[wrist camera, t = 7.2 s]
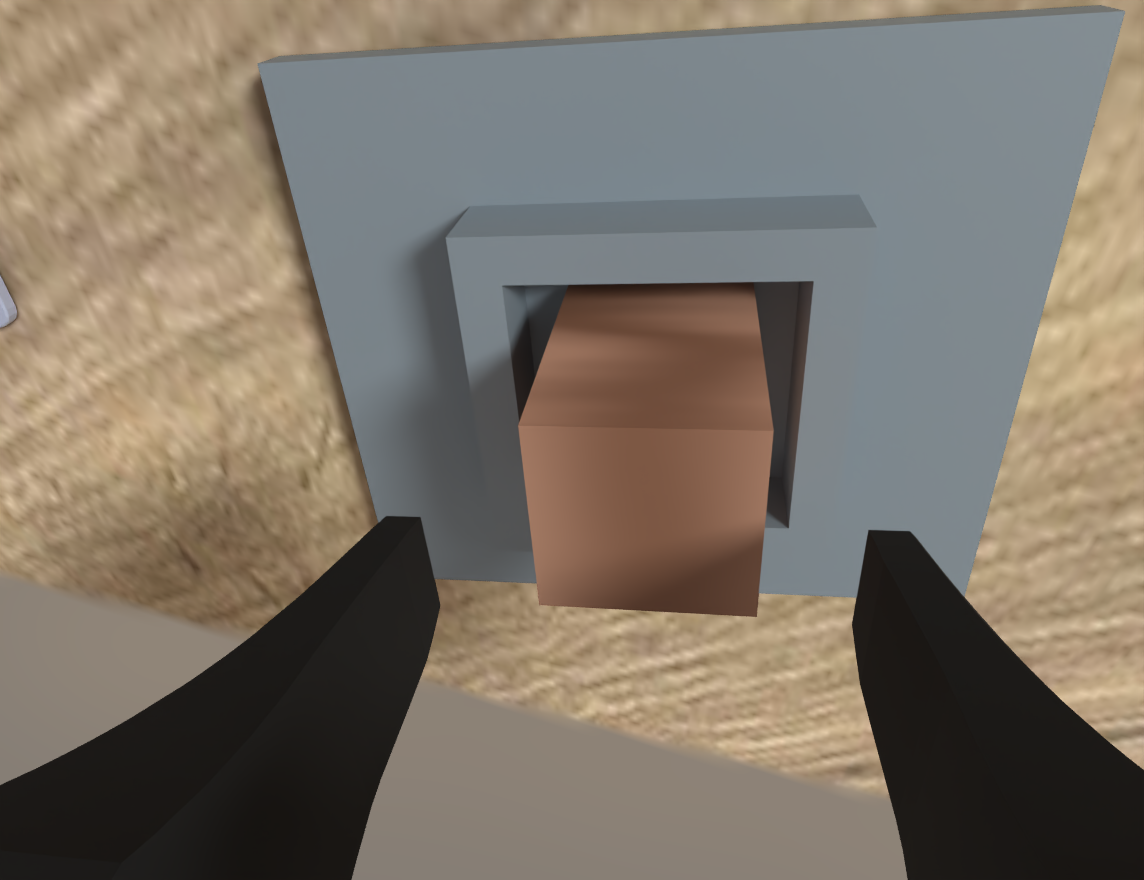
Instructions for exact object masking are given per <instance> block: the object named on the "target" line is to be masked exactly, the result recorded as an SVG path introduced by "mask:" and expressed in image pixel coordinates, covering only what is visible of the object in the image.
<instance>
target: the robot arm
mask: <svg viewBox="0 0 1144 880" xmlns="http://www.w3.org/2000/svg"><path fill="white" fill-rule="evenodd" d="M16 317H17V310H16V307H15V304H14V302H13V300H12V298H11V296H10V294H9V292H8V290H7V288H6V286H5V284H4V282H3V280H2V278H1V276H0V327H4V326H6V325H8V324H10V323H11V322H13V321H14V320H15V319H16ZM439 609H440V601H439V597H438V592H437V588H436V583H435V579H434V574H433V570H432V565H431V561H430V557H429V552H428V548H427V543H426V539H425V534H424V530H423V525H422V521H421V517H407V516H386V517H384V518H383V519H382V520H381V521H380V522H379V523H378V524H377V525H376V526H374V527H373V528H372V529H371V530H370V531H369V532H368V533H367V534H366V535H365V536H364V537H363V538H362V539H361V540H360V541H359V542H357V543H356V544H355V545H354V546H353V547H352V548H351V549H350V550H349V551H348V552H347V553H346V554H345V555H344V556H343V557H342V558H341V559H339V560H338V561H337V562H336V563H335V564H334V565H333V566H332V567H331V568H330V569H329V570H328V571H327V572H325V573H324V574H323V575H322V576H321V577H320V578H319V579H318V580H317V581H316V582H315V583H313V584H312V585H311V586H310V587H309V588H308V589H307V590H306V591H305V592H304V593H302V594H301V595H300V596H299V597H298V598H297V599H296V600H294V601H293V602H292V603H291V604H290V605H288V606H287V607H286V608H285V609H284V610H282V611H281V612H280V613H279V614H278V615H276V616H275V617H274V618H273V619H272V620H270V621H269V622H268V623H267V624H266V625H264V626H263V627H262V628H261V629H260V630H258V631H257V632H256V633H255V634H254V635H252V636H251V637H250V638H249V639H247V640H246V641H245V642H243V643H242V644H241V645H240V646H238V647H237V648H236V649H234V650H233V651H232V652H230V653H229V654H228V655H226V656H225V657H223V658H222V659H221V660H219V661H218V662H216V663H215V664H214V665H212V666H211V667H209V668H208V669H207V670H205V671H204V672H203V673H201V674H200V675H198V676H197V677H195V678H194V679H192V680H191V681H189V682H188V683H186V684H185V685H183V686H182V687H180V688H178V689H177V690H175V691H173V692H172V693H170V694H169V695H167V696H165V697H164V698H162V699H161V700H159V701H158V702H156V703H154V704H153V705H151V706H149V707H148V708H146V709H145V710H143V711H141V712H140V713H138V714H136V715H135V716H134V717H132V718H130V719H128V720H127V721H125V722H123V723H122V724H120V725H118V726H116V727H115V728H112V729H111V730H109V731H107V732H106V733H104V734H102V735H100V736H98V737H96V738H95V739H93V740H91V741H89V742H87V743H85V744H83V745H81V746H79V747H78V748H76V749H74V750H72V751H70V752H68V753H66V754H65V755H62V756H60V757H59V758H56V759H54V760H53V761H50V762H49V763H46V764H44V765H42V766H40V767H38V768H36V769H34V770H32V771H30V772H28V773H25V774H23V775H21V776H19V777H17V778H15V779H13V780H11V781H8V782H6V783H4V784H2V785H0V880H351V879H352V875H353V871H354V867H355V864H356V860H357V856H358V853H359V849H360V845H361V842H362V839H363V835H364V831H365V828H366V824H367V820H368V817H369V813H370V810H371V806H372V803H373V800H374V798H375V795H376V792H377V789H378V786H379V783H380V779H381V777H382V775H383V772H384V770H385V767H386V765H387V762H388V759H389V757H390V754H391V752H392V749H393V747H394V744H395V742H396V739H397V736H398V734H399V731H400V729H401V726H402V724H403V721H404V719H405V716H406V714H407V711H408V709H409V706H410V703H411V701H412V698H413V696H414V693H415V690H416V688H417V685H418V683H419V680H420V677H421V675H422V672H423V669H424V667H425V664H426V661H427V658H428V654H429V650H430V647H431V643H432V639H433V635H434V631H435V626H436V622H437V618H438V613H439ZM852 627H853V635H854V643H855V651H856V659H857V665H858V672H859V679H860V685H861V689H862V693H863V697H864V701H865V705H866V709H867V713H868V716H869V720H870V724H871V728H872V732H873V735H874V739H875V743H876V747H877V750H878V754H879V758H880V762H881V765H882V769H883V773H884V777H885V780H886V784H887V788H888V792H889V795H890V799H891V803H892V807H893V810H894V814H895V818H896V822H897V826H898V830H899V835H900V840H901V844H902V848H903V854H904V860H905V866H906V872H907V878H908V880H1144V770H1143V769H1142V768H1140V767H1139V766H1138V765H1137V764H1135V763H1134V762H1133V761H1131V760H1130V759H1129V758H1128V757H1127V756H1125V755H1124V754H1123V753H1122V752H1120V751H1119V750H1118V749H1117V748H1116V747H1114V746H1113V745H1112V744H1111V743H1109V742H1108V741H1107V740H1106V739H1105V738H1104V737H1102V736H1101V735H1100V734H1099V733H1098V732H1097V731H1096V730H1095V729H1093V728H1092V727H1091V726H1090V725H1089V724H1088V723H1087V722H1085V721H1084V720H1083V719H1082V718H1081V717H1080V716H1079V715H1077V714H1076V713H1075V712H1074V711H1073V710H1072V709H1071V708H1069V707H1068V706H1067V705H1066V704H1065V703H1064V702H1063V701H1062V700H1061V699H1060V698H1059V697H1058V696H1057V695H1056V694H1055V693H1054V692H1053V691H1051V690H1050V689H1049V688H1048V687H1047V686H1046V685H1045V684H1044V683H1043V682H1042V681H1041V680H1040V679H1039V678H1038V677H1037V676H1036V675H1035V674H1034V673H1033V672H1032V671H1031V670H1030V669H1029V668H1028V667H1027V666H1026V665H1025V664H1024V663H1023V662H1022V661H1021V660H1020V658H1019V657H1018V656H1017V655H1016V654H1015V653H1014V652H1013V651H1012V650H1011V649H1010V648H1009V647H1008V646H1007V645H1006V644H1005V643H1004V641H1003V640H1002V639H1001V638H1000V637H999V636H998V635H997V634H996V633H995V631H994V630H993V629H992V628H991V627H990V626H989V625H988V624H987V622H986V621H985V620H984V619H983V618H982V617H981V616H980V615H979V614H978V612H977V611H976V610H975V609H974V608H973V607H972V605H971V604H970V603H969V602H968V601H967V600H966V598H965V597H964V596H963V595H962V594H961V593H960V591H959V590H958V589H957V588H956V586H955V585H954V584H953V583H952V582H951V580H950V579H949V578H948V577H947V576H946V574H945V573H944V572H943V571H942V569H941V568H940V567H939V566H938V564H937V563H936V562H935V561H934V559H933V558H932V557H931V556H930V554H929V553H928V552H927V550H926V549H925V548H924V547H923V545H922V544H921V543H920V542H919V540H918V539H917V538H916V537H915V536H914V535H913V534H912V533H911V532H910V531H892V530H868V535H867V541H866V546H865V552H864V558H863V564H862V569H861V575H860V581H859V587H858V593H857V598H856V604H855V610H854V616H853V621H852Z"/></svg>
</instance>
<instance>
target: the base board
mask: <svg viewBox="0 0 1144 880" xmlns="http://www.w3.org/2000/svg"><path fill="white" fill-rule="evenodd" d="M1124 14H1125V11H1123V10H1119V9H1115V8H1111V7H1106V6H1102V5H1097V6H1080V7H1064V8H1048V9H1032V10H1016V11H1000V12H984V13H968V14H952V15H935V16H919V17H903V18H887V19H871V20H855V21H839V22H823V23H807V24H790V25H774V26H758V27H742V28H726V29H710V30H694V31H678V32H662V33H645V34H629V35H613V36H597V37H581V38H565V39H549V40H533V41H516V42H500V43H484V44H468V45H452V46H436V47H420V48H404V49H388V50H371V51H355V52H339V53H323V54H307V55H291V56H279V57H276V58H273V59H270V60H267V61H264V62H261V63H258V67H259V71H260V75H261V79H262V83H263V86H264V90H265V94H266V98H267V102H268V105H269V109H270V113H271V117H272V121H273V124H274V128H275V132H276V136H277V140H278V143H279V147H280V151H281V155H282V159H283V162H284V166H285V170H286V174H287V178H288V181H289V185H290V189H291V193H292V197H293V200H294V204H295V208H296V212H297V216H298V219H299V223H300V227H301V231H302V235H303V238H304V242H305V246H306V250H307V254H308V258H309V261H310V265H311V269H312V273H313V277H314V280H315V284H316V288H317V292H318V296H319V299H320V303H321V307H322V311H323V315H324V318H325V322H326V326H327V330H328V334H329V337H330V341H331V345H332V349H333V353H334V356H335V360H336V364H337V368H338V372H339V375H340V379H341V383H342V387H343V391H344V394H345V398H346V402H347V406H348V410H349V413H350V417H351V421H352V425H353V429H354V432H355V436H356V440H357V444H358V448H359V451H360V455H361V459H362V463H363V467H364V470H365V474H366V478H367V482H368V486H369V489H370V493H371V497H372V501H373V505H374V508H375V512H376V516H377V520H378V523H379V522H380V521H381V520H382V519H383V518H384V517H386V516H407V517H421V521H422V525H423V530H424V534H425V539H426V543H427V548H428V552H429V557H430V561H431V565H432V570H433V574H434V579H450V580H472V581H495V582H517V583H537V581H536V573H535V564H534V556H533V547H532V539H531V530H530V522H529V513H528V505H527V496H526V488H525V480H524V471H523V463H522V454H521V446H520V437H519V429H518V425H519V422H520V419H521V416H522V413H523V411H524V408H525V405H526V402H527V399H528V397H529V394H530V391H531V388H532V385H533V383H534V380H535V377H536V374H537V371H538V369H539V366H540V363H541V360H542V358H543V355H544V352H545V349H546V346H547V344H548V341H549V338H550V335H551V332H552V330H553V327H554V324H555V321H556V318H557V316H558V313H559V310H560V307H561V304H562V302H563V299H564V296H565V293H566V290H567V288H568V285H576V284H647V283H718V282H754V290H755V297H756V304H757V312H758V319H759V327H760V334H761V341H762V349H763V356H764V363H765V371H766V378H767V386H768V393H769V400H770V408H771V415H772V422H773V430H774V433H773V444H772V455H771V465H770V476H769V487H768V498H767V509H766V520H765V531H764V542H763V553H762V564H761V575H760V586H759V593H765V594H788V595H810V596H833V597H856V598H857V593H858V587H859V581H860V575H861V569H862V564H863V558H864V552H865V546H866V541H867V535H868V530H892V531H910V532H911V533H912V534H913V535H914V536H915V537H916V538H917V539H918V540H919V542H920V543H921V544H922V545H923V547H924V548H925V549H926V550H927V552H928V553H929V554H930V556H931V557H932V558H933V559H934V561H935V562H936V563H937V564H938V566H939V567H940V568H941V569H942V571H943V572H944V573H945V574H946V576H947V577H948V578H949V579H950V580H951V582H952V583H953V584H954V585H955V586H956V588H957V589H958V590H959V591H960V593H961V594H962V595H963V596H965V592H966V589H967V585H968V581H969V578H970V574H971V570H972V567H973V563H974V559H975V556H976V552H977V549H978V545H979V541H980V538H981V534H982V530H983V527H984V523H985V519H986V516H987V512H988V508H989V505H990V501H991V498H992V494H993V490H994V487H995V483H996V479H997V476H998V472H999V468H1000V465H1001V461H1002V458H1003V454H1004V450H1005V447H1006V443H1007V439H1008V436H1009V432H1010V428H1011V425H1012V421H1013V418H1014V414H1015V410H1016V407H1017V403H1018V399H1019V396H1020V392H1021V388H1022V385H1023V381H1024V378H1025V374H1026V370H1027V367H1028V363H1029V359H1030V356H1031V352H1032V348H1033V345H1034V341H1035V338H1036V334H1037V330H1038V327H1039V323H1040V319H1041V316H1042V312H1043V308H1044V305H1045V301H1046V298H1047V294H1048V290H1049V287H1050V283H1051V279H1052V276H1053V272H1054V268H1055V265H1056V261H1057V258H1058V254H1059V250H1060V247H1061V243H1062V239H1063V236H1064V232H1065V228H1066V225H1067V221H1068V217H1069V214H1070V210H1071V207H1072V203H1073V199H1074V196H1075V192H1076V188H1077V185H1078V181H1079V177H1080V174H1081V170H1082V167H1083V163H1084V159H1085V156H1086V152H1087V148H1088V145H1089V141H1090V137H1091V134H1092V130H1093V127H1094V123H1095V119H1096V116H1097V112H1098V108H1099V105H1100V101H1101V97H1102V94H1103V90H1104V87H1105V83H1106V79H1107V76H1108V72H1109V68H1110V65H1111V61H1112V57H1113V54H1114V50H1115V47H1116V43H1117V39H1118V36H1119V32H1120V28H1121V25H1122V21H1123V17H1124Z"/></svg>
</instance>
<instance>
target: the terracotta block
mask: <svg viewBox="0 0 1144 880" xmlns="http://www.w3.org/2000/svg"><path fill="white" fill-rule="evenodd" d="M518 429H519V437H520V446H521V454H522V463H523V471H524V480H525V488H526V496H527V505H528V513H529V522H530V530H531V539H532V547H533V556H534V564H535V573H536V581H537V590H538V598H539V605H550V606H568V607H586V608H605V609H623V610H641V611H659V612H678V613H696V614H714V615H732V616H751V617H757V608H758V597H759V586H760V575H761V564H762V553H763V542H764V531H765V520H766V509H767V498H768V487H769V476H770V465H771V455H772V444H773V433H774V430H773V422H772V415H771V408H770V400H769V393H768V386H767V378H766V371H765V363H764V356H763V349H762V341H761V334H760V327H759V319H758V312H757V304H756V297H755V290H754V282H718V283H647V284H576V285H568V288H567V290H566V293H565V296H564V299H563V302H562V304H561V307H560V310H559V313H558V316H557V318H556V321H555V324H554V327H553V330H552V332H551V335H550V338H549V341H548V344H547V346H546V349H545V352H544V355H543V358H542V360H541V363H540V366H539V369H538V371H537V374H536V377H535V380H534V383H533V385H532V388H531V391H530V394H529V397H528V399H527V402H526V405H525V408H524V411H523V413H522V416H521V419H520V422H519V425H518Z"/></svg>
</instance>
